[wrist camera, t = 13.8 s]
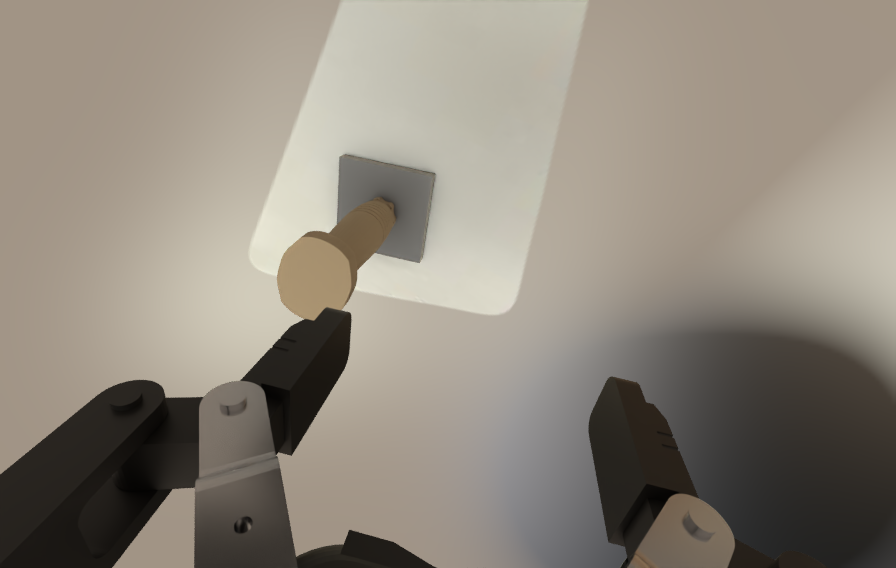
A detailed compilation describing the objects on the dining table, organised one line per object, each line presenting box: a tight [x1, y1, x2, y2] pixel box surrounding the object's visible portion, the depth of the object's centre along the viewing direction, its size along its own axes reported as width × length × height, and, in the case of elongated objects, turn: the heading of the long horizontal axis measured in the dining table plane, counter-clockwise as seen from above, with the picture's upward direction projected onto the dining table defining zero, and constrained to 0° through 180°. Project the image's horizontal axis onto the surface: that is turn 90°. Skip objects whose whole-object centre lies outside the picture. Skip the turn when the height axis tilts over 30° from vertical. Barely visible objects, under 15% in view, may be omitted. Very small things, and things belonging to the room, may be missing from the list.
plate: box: [337, 155, 435, 263], centre depth 40 cm, size 9×9×1 cm
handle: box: [277, 197, 396, 321], centre depth 33 cm, size 5×6×15 cm
